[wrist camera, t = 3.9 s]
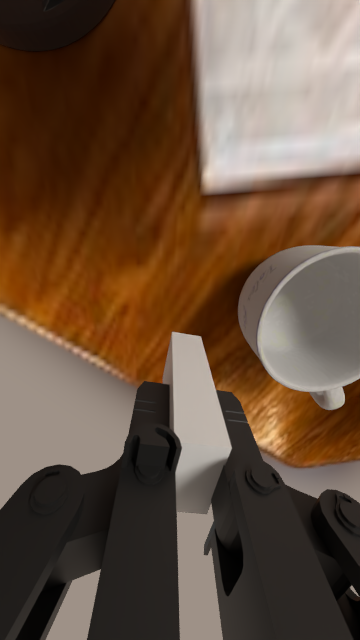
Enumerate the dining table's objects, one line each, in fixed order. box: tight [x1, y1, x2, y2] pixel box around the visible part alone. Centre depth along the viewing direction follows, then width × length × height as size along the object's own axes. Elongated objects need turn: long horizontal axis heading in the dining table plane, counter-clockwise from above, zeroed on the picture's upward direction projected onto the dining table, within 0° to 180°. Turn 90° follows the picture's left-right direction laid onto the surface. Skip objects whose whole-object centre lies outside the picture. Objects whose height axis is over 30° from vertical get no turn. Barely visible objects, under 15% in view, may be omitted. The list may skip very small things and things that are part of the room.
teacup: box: [238, 246, 360, 410], centre depth 20 cm, size 14×11×8 cm
